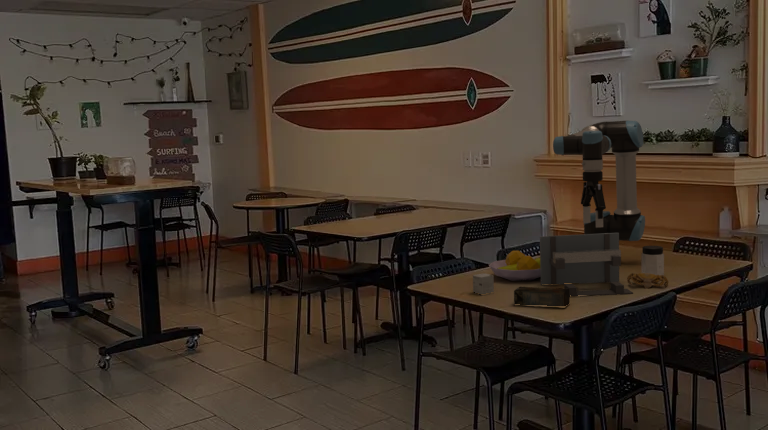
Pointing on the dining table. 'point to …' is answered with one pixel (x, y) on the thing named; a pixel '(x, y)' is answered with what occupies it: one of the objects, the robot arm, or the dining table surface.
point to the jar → (652, 260)
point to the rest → (614, 290)
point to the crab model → (647, 279)
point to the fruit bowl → (517, 267)
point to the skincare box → (483, 283)
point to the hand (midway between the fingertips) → (593, 225)
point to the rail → (586, 255)
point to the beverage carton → (541, 296)
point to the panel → (579, 270)
